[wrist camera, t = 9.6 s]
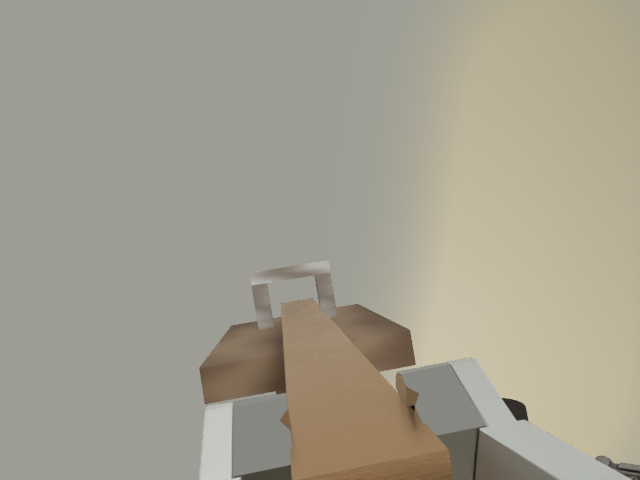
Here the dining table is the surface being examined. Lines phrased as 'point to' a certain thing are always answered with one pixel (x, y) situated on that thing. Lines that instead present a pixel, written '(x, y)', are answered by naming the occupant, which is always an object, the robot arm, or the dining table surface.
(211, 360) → the stand
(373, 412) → the bar
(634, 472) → the lighter
